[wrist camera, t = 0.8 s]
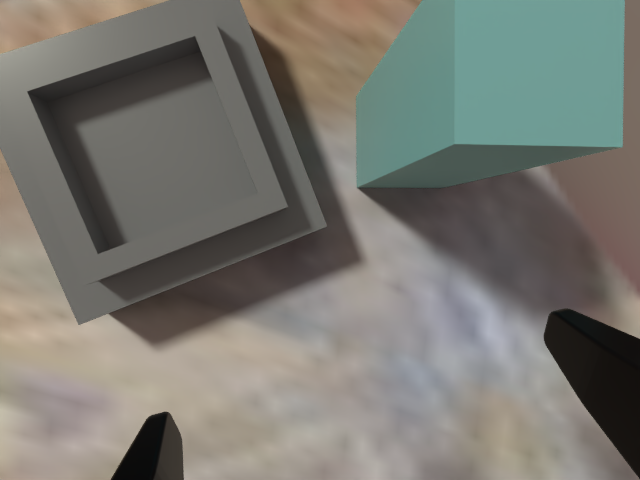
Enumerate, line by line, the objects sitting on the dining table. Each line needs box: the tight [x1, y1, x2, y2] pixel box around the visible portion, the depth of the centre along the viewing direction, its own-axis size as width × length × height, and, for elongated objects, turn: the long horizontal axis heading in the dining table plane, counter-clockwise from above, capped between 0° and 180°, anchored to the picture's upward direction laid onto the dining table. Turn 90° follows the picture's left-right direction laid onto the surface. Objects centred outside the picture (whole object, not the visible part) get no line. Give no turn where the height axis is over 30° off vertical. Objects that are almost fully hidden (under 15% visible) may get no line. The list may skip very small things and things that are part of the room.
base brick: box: [0, 0, 327, 325], centre depth 19 cm, size 12×12×4 cm
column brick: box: [356, 0, 625, 188], centre depth 17 cm, size 5×5×12 cm
